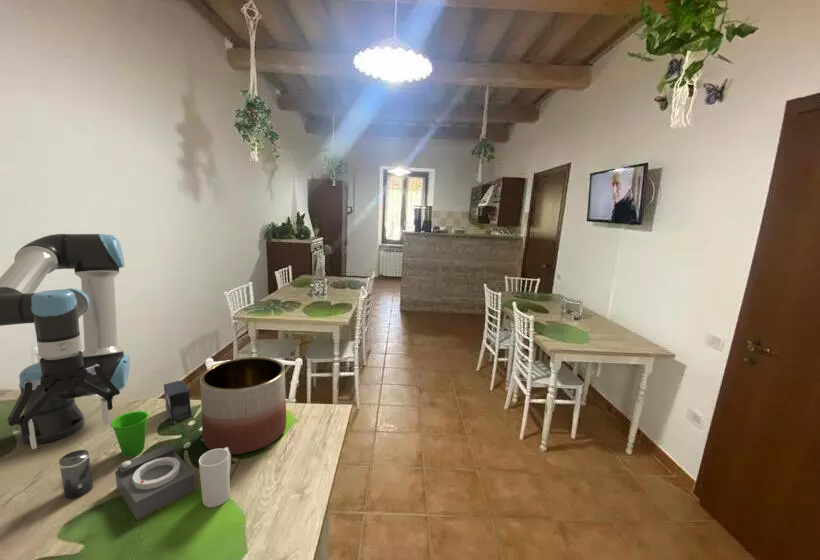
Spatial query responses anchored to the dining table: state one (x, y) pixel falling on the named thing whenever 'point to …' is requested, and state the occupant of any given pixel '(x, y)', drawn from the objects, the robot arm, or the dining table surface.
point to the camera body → (154, 480)
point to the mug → (215, 476)
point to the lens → (76, 474)
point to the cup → (131, 432)
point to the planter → (243, 404)
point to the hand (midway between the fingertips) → (72, 433)
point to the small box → (177, 400)
